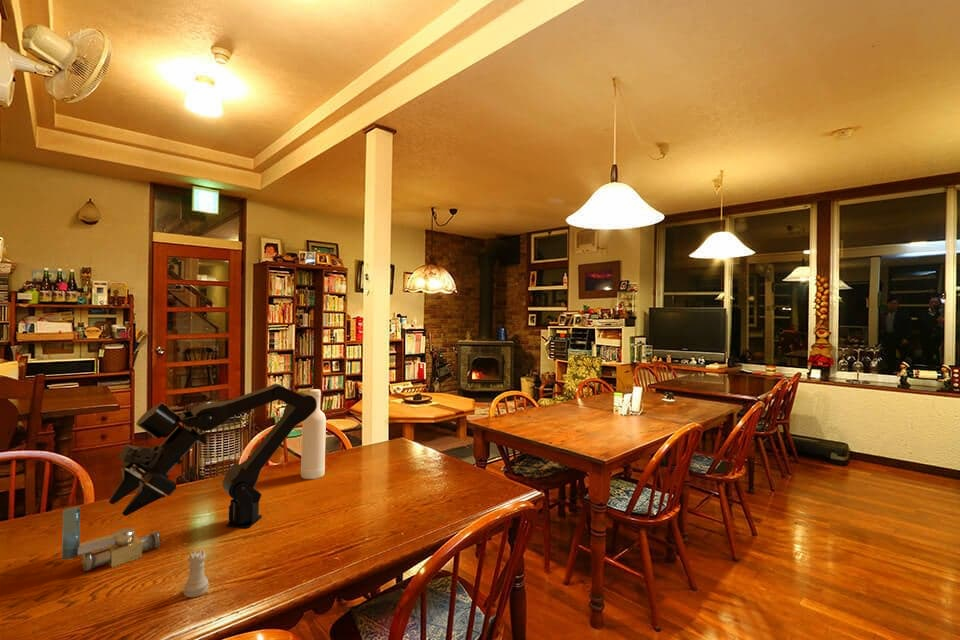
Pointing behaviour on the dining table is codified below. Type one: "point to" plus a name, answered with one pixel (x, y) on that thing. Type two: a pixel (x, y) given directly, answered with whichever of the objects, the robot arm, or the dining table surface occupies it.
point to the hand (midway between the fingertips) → (116, 509)
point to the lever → (74, 547)
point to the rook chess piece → (196, 575)
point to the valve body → (121, 552)
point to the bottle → (313, 442)
